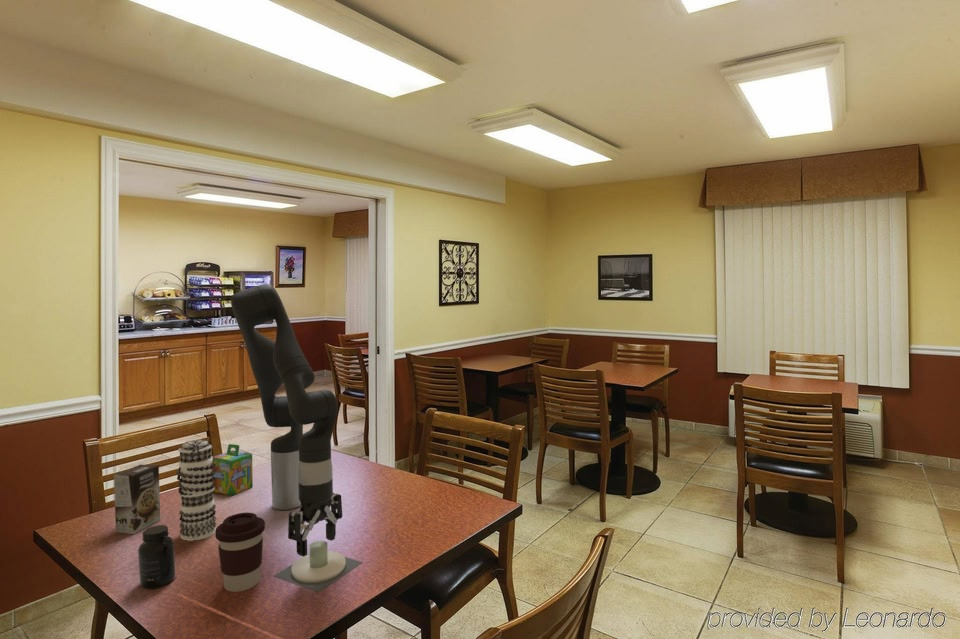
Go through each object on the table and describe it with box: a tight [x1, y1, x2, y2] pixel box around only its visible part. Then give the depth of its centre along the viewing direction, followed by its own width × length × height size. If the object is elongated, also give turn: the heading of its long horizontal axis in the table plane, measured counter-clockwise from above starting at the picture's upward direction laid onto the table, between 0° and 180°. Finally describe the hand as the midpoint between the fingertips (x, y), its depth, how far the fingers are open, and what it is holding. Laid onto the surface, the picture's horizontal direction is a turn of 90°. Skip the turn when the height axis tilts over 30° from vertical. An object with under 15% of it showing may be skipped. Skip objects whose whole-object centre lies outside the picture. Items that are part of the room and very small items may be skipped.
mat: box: [273, 556, 364, 593], centre depth 121 cm, size 14×14×1 cm
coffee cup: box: [214, 512, 266, 593], centre depth 116 cm, size 10×10×15 cm
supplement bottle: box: [137, 524, 176, 590], centre depth 117 cm, size 7×7×12 cm
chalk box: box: [212, 443, 254, 497], centre depth 172 cm, size 9×9×15 cm
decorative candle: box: [176, 439, 217, 542], centre depth 140 cm, size 9×9×25 cm
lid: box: [291, 540, 346, 583], centre depth 121 cm, size 12×12×6 cm
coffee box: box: [113, 464, 161, 535], centre depth 145 cm, size 9×6×16 cm
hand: (316, 547), depth 121 cm, fingers open, 8 cm apart
